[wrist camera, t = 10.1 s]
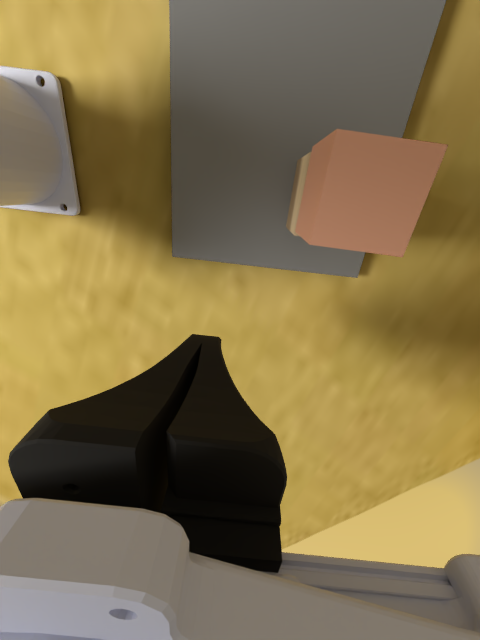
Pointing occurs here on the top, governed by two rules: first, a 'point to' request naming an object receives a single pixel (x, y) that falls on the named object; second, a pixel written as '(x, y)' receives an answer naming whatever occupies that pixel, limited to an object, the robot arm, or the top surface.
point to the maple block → (297, 192)
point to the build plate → (279, 112)
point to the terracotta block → (366, 191)
